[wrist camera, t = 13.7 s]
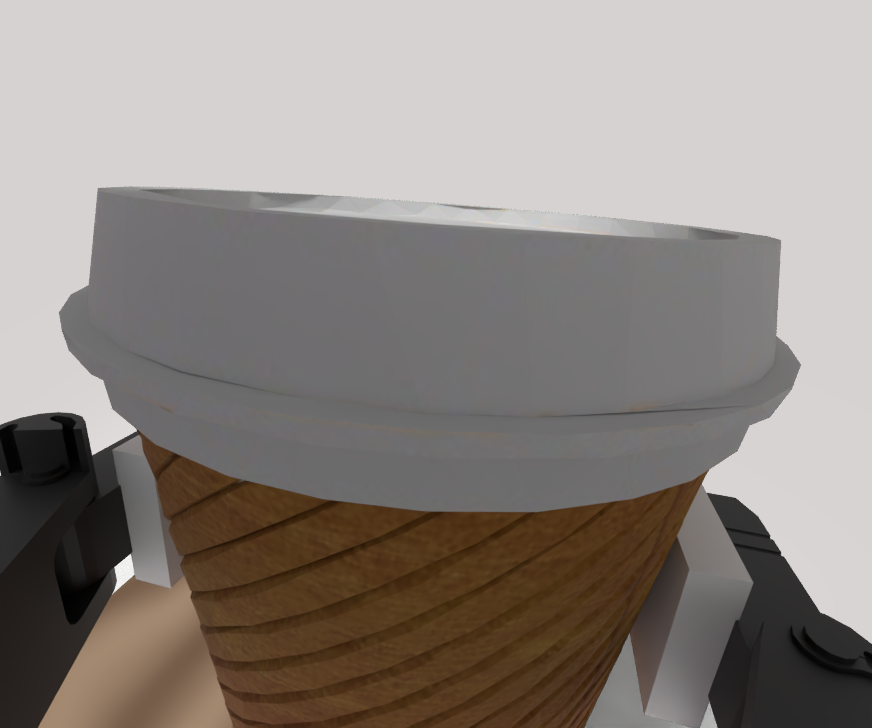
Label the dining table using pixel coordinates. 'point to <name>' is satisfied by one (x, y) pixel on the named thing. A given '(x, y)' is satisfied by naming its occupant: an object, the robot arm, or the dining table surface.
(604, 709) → the dining table surface
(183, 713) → the walnut board
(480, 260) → the disposable coffee cup
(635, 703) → the dining table surface
